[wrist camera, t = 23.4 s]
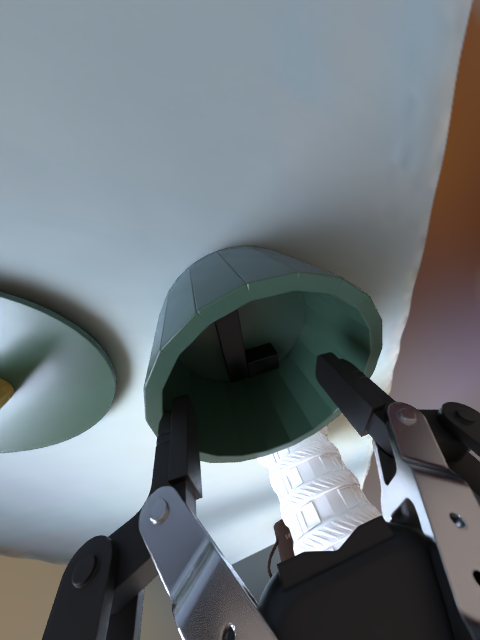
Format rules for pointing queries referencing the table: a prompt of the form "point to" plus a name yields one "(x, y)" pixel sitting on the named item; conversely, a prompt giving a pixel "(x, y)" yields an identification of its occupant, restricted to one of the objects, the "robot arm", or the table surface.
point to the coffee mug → (282, 543)
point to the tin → (257, 329)
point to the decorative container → (317, 494)
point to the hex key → (243, 351)
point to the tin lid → (48, 377)
